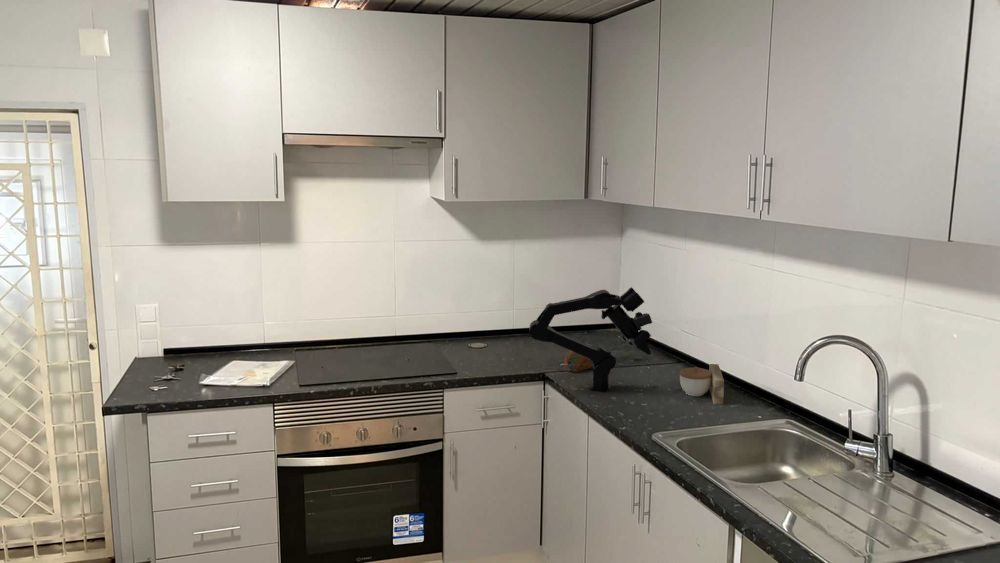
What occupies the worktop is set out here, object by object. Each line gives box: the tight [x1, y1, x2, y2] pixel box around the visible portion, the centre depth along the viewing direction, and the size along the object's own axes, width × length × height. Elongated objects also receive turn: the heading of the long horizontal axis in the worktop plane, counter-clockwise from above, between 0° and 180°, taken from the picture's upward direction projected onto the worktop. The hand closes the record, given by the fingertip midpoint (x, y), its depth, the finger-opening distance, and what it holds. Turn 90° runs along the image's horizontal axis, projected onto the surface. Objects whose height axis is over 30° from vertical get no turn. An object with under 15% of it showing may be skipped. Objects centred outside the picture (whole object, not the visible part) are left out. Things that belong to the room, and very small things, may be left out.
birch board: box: [708, 363, 725, 405], centre depth 253 cm, size 3×20×8 cm, turn 169°
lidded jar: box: [679, 366, 712, 397], centre depth 254 cm, size 11×11×9 cm
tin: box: [563, 350, 593, 373], centre depth 284 cm, size 15×3×8 cm, turn 129°
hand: (649, 353), depth 258 cm, fingers closed
